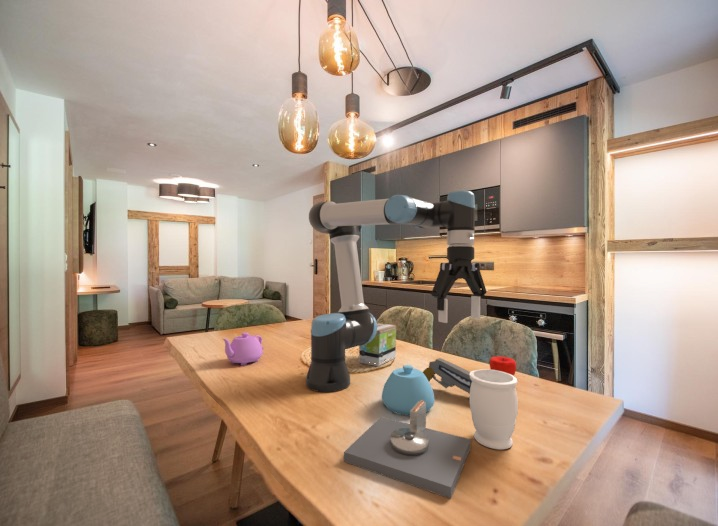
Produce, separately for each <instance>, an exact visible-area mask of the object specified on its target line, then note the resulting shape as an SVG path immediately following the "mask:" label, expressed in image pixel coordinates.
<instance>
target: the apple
mask: <svg viewBox="0 0 718 526" xmlns="http://www.w3.org/2000/svg"><path fill="white" fill-rule="evenodd" d="M489 368H490V369H489V370H497V371H502V372H506V373H509V374H511V375H513V376H515V374H516V372H517V362H516V361H515V359H513V358H510V357H507V356H493V357H490V360H489Z"/></svg>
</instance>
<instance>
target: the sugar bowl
mask: <svg viewBox="0 0 718 526" xmlns="http://www.w3.org/2000/svg"><path fill="white" fill-rule="evenodd" d="M381 392H382V393H381V400H382V403H383V405H384V406H385V407H386V408H387V409H388V410H389V411H391V412H392V413H395V414H398V415H401V416H410V411H411V409H412V408H413V407H414V406H415V405H416V404H417V403H418V402H419V401H421V400H423V401H424V402H426V413H428V412H429V410H431V409H432V408H433V407H434V404H435V394H434V390H433V388H432V385H431V383H430V381H428V379H427V378H426V376H425V375H424V373H423V371H422V370H419V369H416V368H414V366H413V365H411V364H405V365H402V367H399V368H396V369H394V370H392V371H391V373H390V375H389V376H388V378H387V379H386V381H385V383H384V385H383V388H382V391H381Z"/></svg>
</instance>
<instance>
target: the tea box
mask: <svg viewBox="0 0 718 526" xmlns="http://www.w3.org/2000/svg"><path fill="white" fill-rule="evenodd" d="M396 346H397V325H394V324H386V323H379V322H378V323H377V333H376V335H375V337H374V338H373V340H372V341H371V342H369V343H366V344H365V345H362V346H358V347H359V349H358V350H359V353H358V363H361V364H365V365H370V366H373V367H380V366H382V365H383V364H385V363H387V362H390V361H392V360H395V359H396V356H397V354H396V352H397V350H396V349H397V347H396ZM391 357H393V358H391ZM389 358H391V359H389ZM387 359H389V360H387ZM385 360H387V361H385ZM384 361H385V362H384ZM369 362H370V363H369ZM382 362H383V363H382ZM374 363H376V364H374ZM380 363H381V364H380Z"/></svg>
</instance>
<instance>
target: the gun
mask: <svg viewBox="0 0 718 526" xmlns="http://www.w3.org/2000/svg"><path fill="white" fill-rule="evenodd" d="M428 363H429V365H428V367H426V368H425V369H424V370H423V371H422V372H423V373H424V375H425V376H426V378H427V379H428V381H429V382H430V381H431V380H432V379H433V380H434V381H436V382H437V383H438V384H439V385H441V386H442V387H443V388H444V389H447V388H449V387H450V388H453V387H457V388H458V389H460V390H462V391H464V392H465V393H467V394H469V395H470V387H471V383H472V380H471V379H470V372H471V371H469V370H467V369H465V368H463V367H460V366H458V365H457V364H456V363H455V364H454V363H453V362H450V361H448V360H445V359H443V358H441V357H438V358H436V359H435V360H434V361H429V362H428ZM435 375H437V376H438V377H440V380H439V379H438V378H436V376H435Z"/></svg>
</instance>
